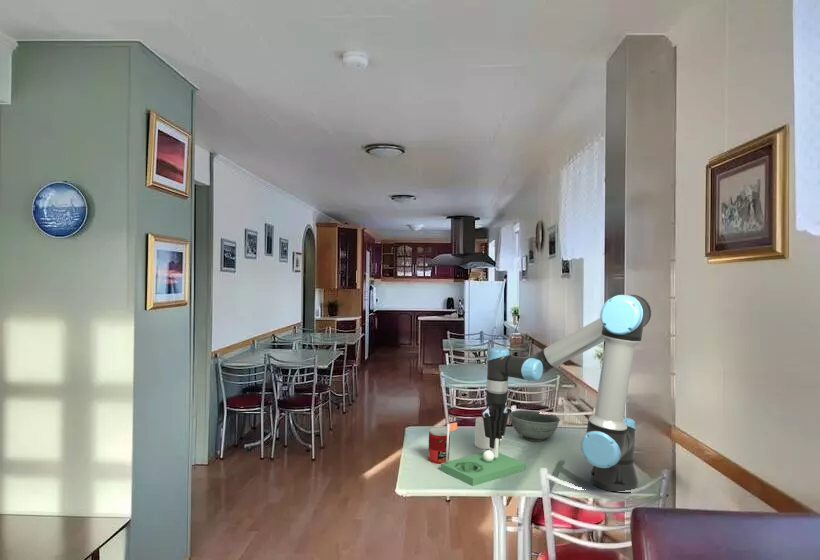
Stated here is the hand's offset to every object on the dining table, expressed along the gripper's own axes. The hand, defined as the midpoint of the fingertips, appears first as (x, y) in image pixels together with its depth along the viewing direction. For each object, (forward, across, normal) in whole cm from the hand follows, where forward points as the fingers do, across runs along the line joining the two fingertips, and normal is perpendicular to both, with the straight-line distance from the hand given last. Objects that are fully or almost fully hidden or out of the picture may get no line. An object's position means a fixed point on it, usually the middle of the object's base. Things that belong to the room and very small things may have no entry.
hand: (493, 456), depth 192 cm
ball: (-1, +3, 0) cm, 3 cm away
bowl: (+4, -39, -14) cm, 42 cm away
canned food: (+4, +13, -16) cm, 21 cm away
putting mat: (+4, +6, 0) cm, 7 cm away
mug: (+4, -15, -17) cm, 23 cm away
